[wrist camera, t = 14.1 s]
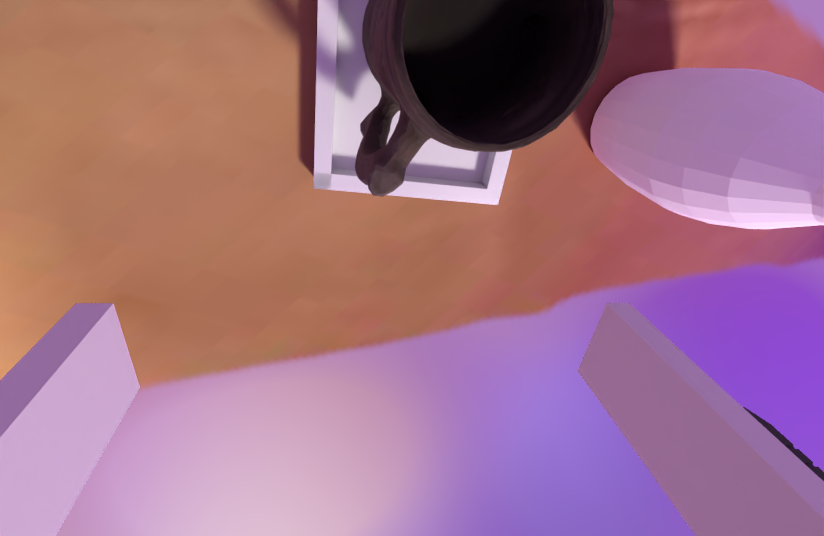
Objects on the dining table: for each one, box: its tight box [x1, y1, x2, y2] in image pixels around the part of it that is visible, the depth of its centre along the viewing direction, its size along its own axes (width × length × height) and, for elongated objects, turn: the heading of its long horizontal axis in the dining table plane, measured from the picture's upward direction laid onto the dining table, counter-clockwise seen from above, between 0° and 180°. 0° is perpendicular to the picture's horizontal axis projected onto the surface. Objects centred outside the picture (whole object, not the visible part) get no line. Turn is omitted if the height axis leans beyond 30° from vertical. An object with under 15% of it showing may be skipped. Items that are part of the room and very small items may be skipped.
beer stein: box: [355, 0, 613, 196], centre depth 26 cm, size 15×11×20 cm
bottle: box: [591, 68, 824, 229], centre depth 29 cm, size 11×11×25 cm
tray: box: [314, 0, 512, 205], centre depth 34 cm, size 18×22×3 cm
